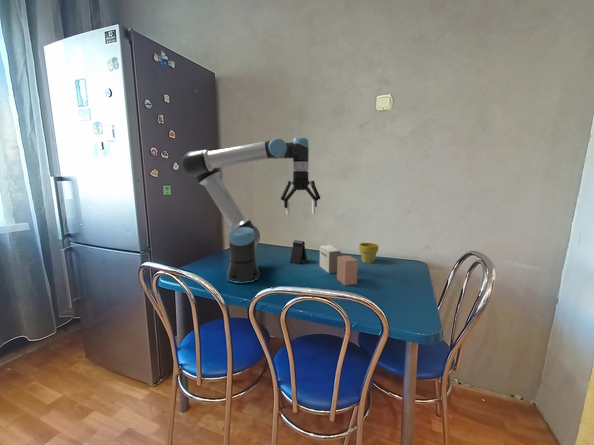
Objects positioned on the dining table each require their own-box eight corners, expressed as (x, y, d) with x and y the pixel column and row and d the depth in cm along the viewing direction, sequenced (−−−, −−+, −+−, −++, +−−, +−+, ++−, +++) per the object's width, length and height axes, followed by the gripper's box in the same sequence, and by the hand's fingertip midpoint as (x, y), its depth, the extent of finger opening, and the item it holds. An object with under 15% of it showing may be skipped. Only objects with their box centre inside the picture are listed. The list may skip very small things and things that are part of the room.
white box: (329, 273, 139) (329, 251, 138) (319, 266, 151) (319, 246, 149) (340, 272, 141) (340, 250, 140) (330, 265, 153) (330, 245, 151)
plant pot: (375, 259, 163) (376, 242, 162) (379, 264, 153) (380, 247, 152) (357, 258, 164) (358, 242, 163) (359, 264, 154) (360, 246, 153)
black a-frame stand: (298, 264, 153) (298, 243, 151) (289, 262, 156) (289, 241, 154) (307, 260, 161) (307, 240, 159) (298, 259, 164) (298, 238, 162)
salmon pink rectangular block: (344, 285, 124) (345, 261, 122) (336, 279, 132) (337, 256, 130) (357, 283, 126) (357, 260, 124) (348, 277, 134) (348, 255, 132)
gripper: (278, 170, 131) (278, 216, 134) (327, 170, 138) (326, 213, 142) (274, 170, 138) (274, 214, 141) (321, 171, 145) (320, 211, 149)
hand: (300, 214), depth 142 cm, fingers open, 13 cm apart
